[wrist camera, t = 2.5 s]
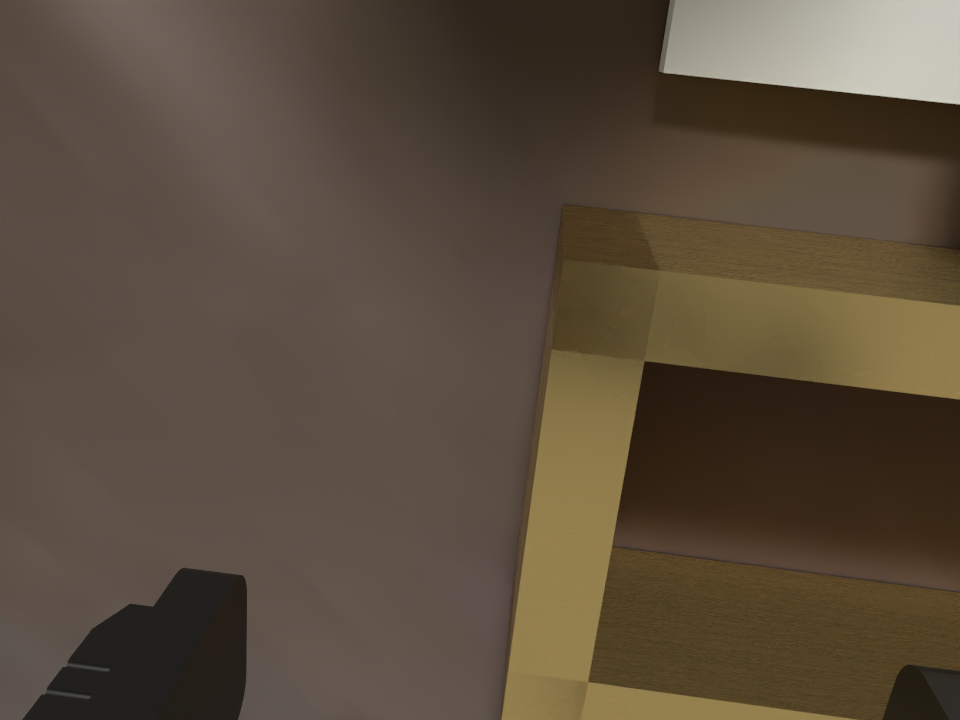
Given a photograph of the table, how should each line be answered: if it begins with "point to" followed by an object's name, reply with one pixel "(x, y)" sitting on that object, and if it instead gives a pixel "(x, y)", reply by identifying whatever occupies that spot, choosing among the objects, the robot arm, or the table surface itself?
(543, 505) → the rectangular wooden frame
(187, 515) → the table surface
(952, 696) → the robot arm
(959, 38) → the peg stand
